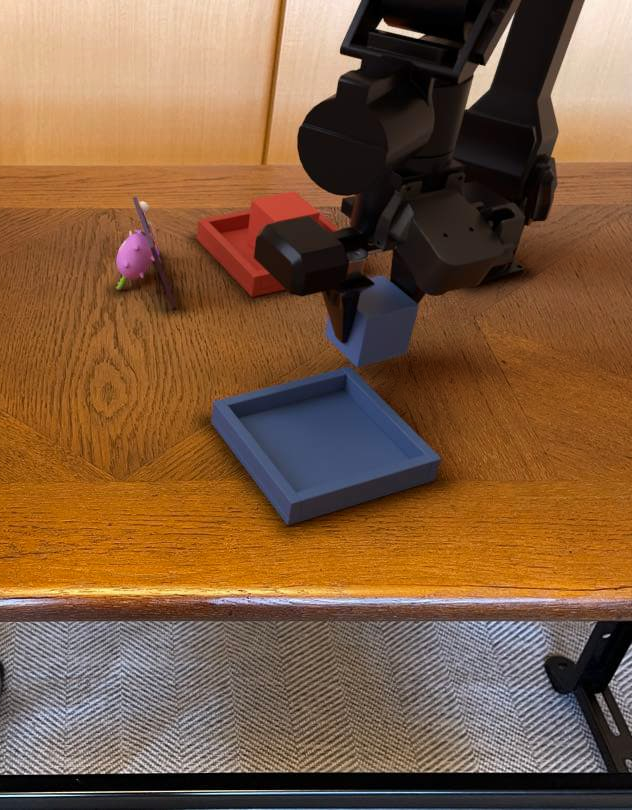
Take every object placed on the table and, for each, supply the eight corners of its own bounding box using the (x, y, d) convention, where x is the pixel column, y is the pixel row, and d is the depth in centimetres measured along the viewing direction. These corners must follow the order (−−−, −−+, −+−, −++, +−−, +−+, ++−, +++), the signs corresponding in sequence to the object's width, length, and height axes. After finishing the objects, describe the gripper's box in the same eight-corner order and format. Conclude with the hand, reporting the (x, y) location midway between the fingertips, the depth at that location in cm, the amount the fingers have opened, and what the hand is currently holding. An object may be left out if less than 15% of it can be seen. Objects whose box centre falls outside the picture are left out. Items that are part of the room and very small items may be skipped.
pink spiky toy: (162, 242, 76) (143, 192, 82) (103, 265, 76) (89, 213, 83) (185, 305, 80) (165, 252, 87) (128, 326, 80) (113, 272, 87)
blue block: (372, 322, 74) (383, 274, 71) (407, 354, 71) (419, 304, 68) (324, 335, 73) (332, 287, 70) (357, 368, 69) (367, 318, 67)
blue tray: (345, 387, 72) (350, 365, 70) (435, 481, 64) (442, 458, 62) (210, 422, 68) (213, 401, 67) (287, 526, 60) (291, 503, 59)
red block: (287, 233, 89) (294, 190, 86) (312, 256, 86) (320, 212, 83) (246, 242, 88) (251, 199, 85) (270, 265, 84) (276, 221, 82)
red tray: (300, 217, 93) (303, 198, 91) (363, 272, 85) (368, 251, 83) (196, 238, 89) (197, 219, 88) (251, 297, 82) (254, 276, 80)
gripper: (359, 220, 53) (318, 427, 63) (614, 166, 58) (539, 365, 68) (262, 144, 61) (240, 338, 71) (494, 102, 66) (442, 288, 76)
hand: (367, 333), depth 71 cm, fingers closed on blue block, 4 cm apart
